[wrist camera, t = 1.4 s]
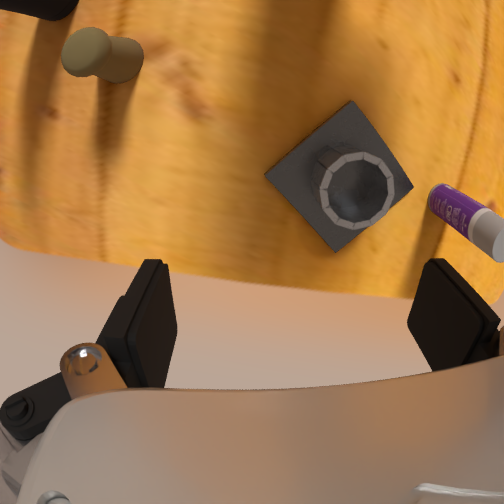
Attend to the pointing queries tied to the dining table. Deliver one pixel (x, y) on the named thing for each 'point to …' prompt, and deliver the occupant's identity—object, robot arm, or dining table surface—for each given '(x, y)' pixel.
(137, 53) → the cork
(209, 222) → the dining table surface
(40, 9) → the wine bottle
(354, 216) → the duct collar
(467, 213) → the container
